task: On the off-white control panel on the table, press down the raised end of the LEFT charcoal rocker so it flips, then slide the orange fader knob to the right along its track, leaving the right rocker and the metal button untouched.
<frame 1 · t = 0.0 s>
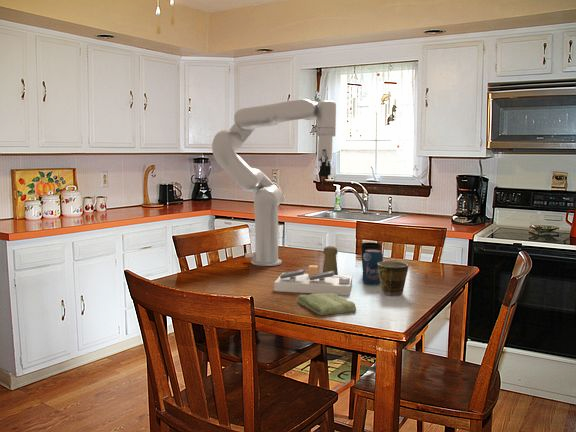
hand: (325, 175, 220), 37 cm above the table, tool pointing down, fingers open, 9 cm apart
brown upright piece: (330, 275, 208), on the table
fader knob: (313, 270, 193), point 5 cm above the table, slide at 0.0 cm
panel: (314, 287, 189), on the table
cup: (370, 275, 208), on the table
ceramic cup: (389, 295, 181), on the table
soda can: (372, 284, 195), on the table
rocker right: (322, 275, 184), point 5 cm above the table, hinge at -14.0°
rocker left: (292, 273, 186), point 5 cm above the table, hinge at -14.0°
washcloth: (325, 308, 166), on the table
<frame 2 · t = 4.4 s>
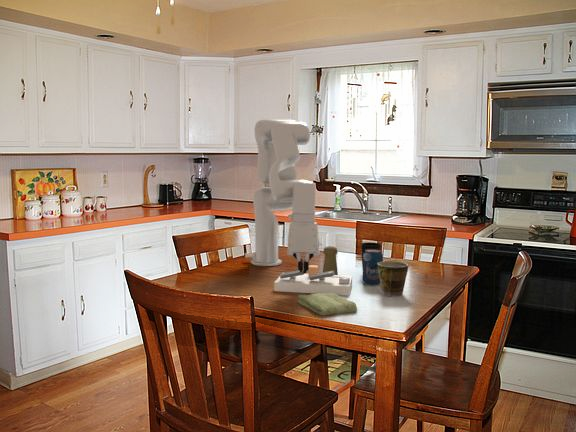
hand: (303, 272, 185), 6 cm above the table, tool pointing down, fingers closed
rocker left: (292, 273, 186), point 5 cm above the table, hinge at -12.7°, touching gripper
everything else where it was.
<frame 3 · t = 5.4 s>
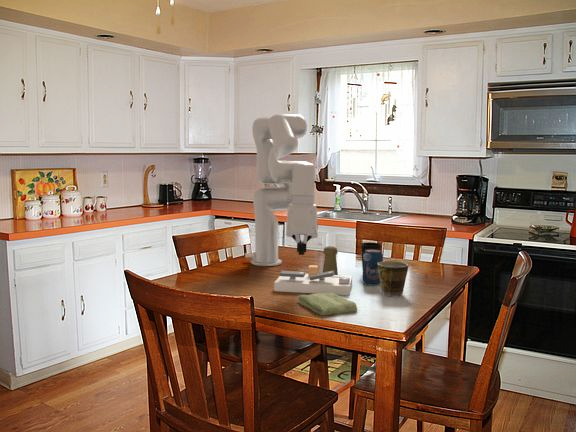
hand: (301, 254, 185), 12 cm above the table, tool pointing down, fingers closed
rocker left: (292, 273, 186), point 5 cm above the table, hinge at 0.4°
everything else where it was.
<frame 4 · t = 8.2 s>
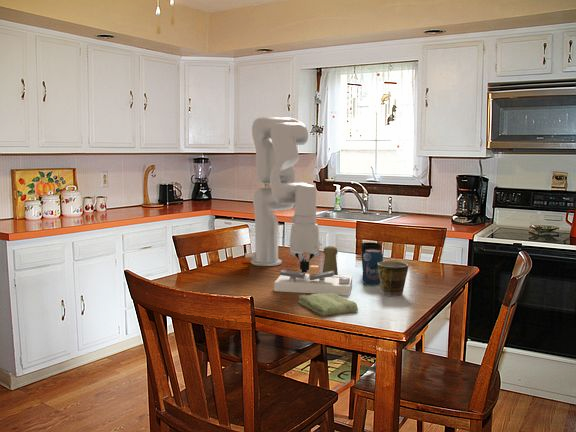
hand: (304, 271, 193), 4 cm above the table, tool pointing down, fingers closed
fader knob: (314, 270, 193), point 5 cm above the table, slide at 0.4 cm, touching gripper
rocker left: (292, 273, 186), point 5 cm above the table, hinge at 6.1°
everything else where it was.
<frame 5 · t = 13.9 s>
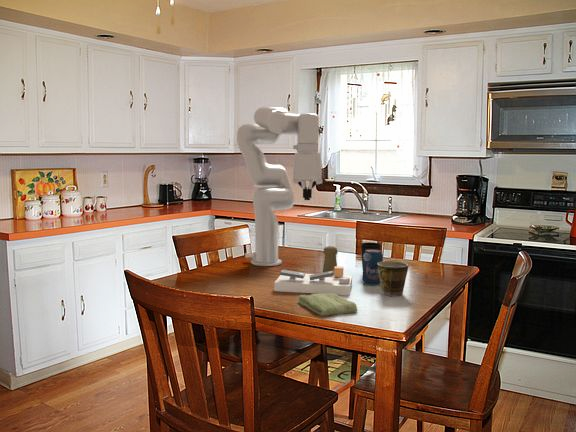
hand: (307, 199, 198), 29 cm above the table, tool pointing down, fingers closed
fader knob: (338, 271, 191), point 5 cm above the table, slide at 9.0 cm
everything else where it was.
at the end: rocker left at +6° (first picture: -14°); fader knob slide at 9.0 cm; rocker right at -14° (first picture: -14°) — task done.
